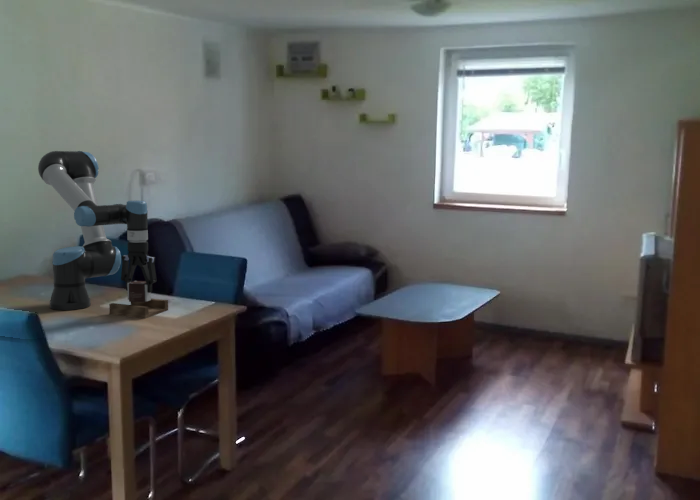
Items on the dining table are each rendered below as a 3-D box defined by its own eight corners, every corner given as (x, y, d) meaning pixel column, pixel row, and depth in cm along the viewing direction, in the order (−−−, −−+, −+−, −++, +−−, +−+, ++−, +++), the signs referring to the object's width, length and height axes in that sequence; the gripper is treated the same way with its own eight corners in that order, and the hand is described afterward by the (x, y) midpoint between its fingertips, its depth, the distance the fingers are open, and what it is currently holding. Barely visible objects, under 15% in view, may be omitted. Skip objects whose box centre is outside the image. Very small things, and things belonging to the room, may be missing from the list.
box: (144, 302, 262) (143, 283, 261) (128, 302, 262) (128, 283, 261) (149, 299, 268) (148, 280, 267) (134, 299, 268) (133, 280, 267)
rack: (109, 314, 262) (109, 304, 261) (133, 306, 276) (133, 296, 275) (145, 318, 256) (145, 307, 256) (168, 310, 271) (168, 300, 270)
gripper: (109, 240, 262) (111, 299, 265) (154, 243, 256) (155, 303, 259) (121, 238, 269) (123, 296, 272) (165, 241, 263) (167, 300, 266)
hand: (139, 299), depth 265 cm, fingers closed on box, 7 cm apart
